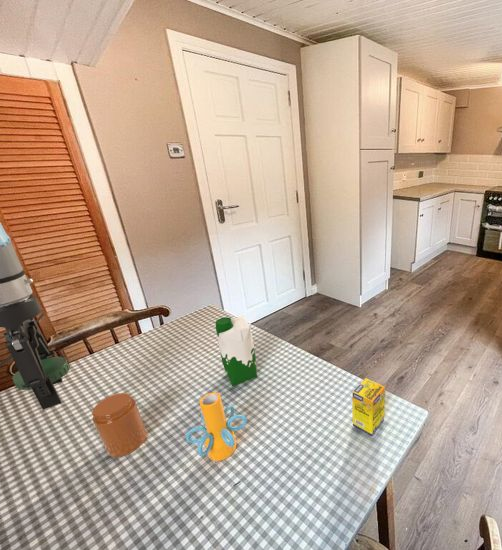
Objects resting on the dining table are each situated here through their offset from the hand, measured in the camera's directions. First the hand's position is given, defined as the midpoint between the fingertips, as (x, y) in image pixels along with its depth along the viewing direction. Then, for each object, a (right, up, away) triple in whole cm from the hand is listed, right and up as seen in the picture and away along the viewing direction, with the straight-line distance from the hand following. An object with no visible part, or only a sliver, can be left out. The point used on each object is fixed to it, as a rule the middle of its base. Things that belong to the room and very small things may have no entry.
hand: (53, 393), depth 66 cm
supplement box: (+69, -12, +11) cm, 71 cm away
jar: (+12, -14, +6) cm, 19 cm away
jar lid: (0, +6, -2) cm, 6 cm away
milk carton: (+30, -5, +27) cm, 41 cm away
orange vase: (+35, -15, +4) cm, 38 cm away
